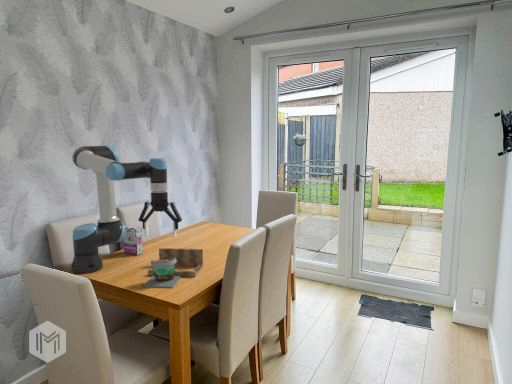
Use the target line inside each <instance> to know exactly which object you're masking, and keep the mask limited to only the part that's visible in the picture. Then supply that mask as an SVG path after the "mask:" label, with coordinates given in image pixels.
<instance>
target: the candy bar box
mask: <svg viewBox="0 0 512 384" xmlns="http://www.w3.org/2000/svg"><path fill="white" fill-rule="evenodd" d="M124 226H125V236H124V238H123V240H122V241H123V252H124V254H127V255H133V256H139V255H142V254H143V253H144V252H143V251H144V250H143V249H144V248H143V233H142V232H143V231H142V230H143V226H142V227H141V226H134V225H124Z"/></svg>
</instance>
